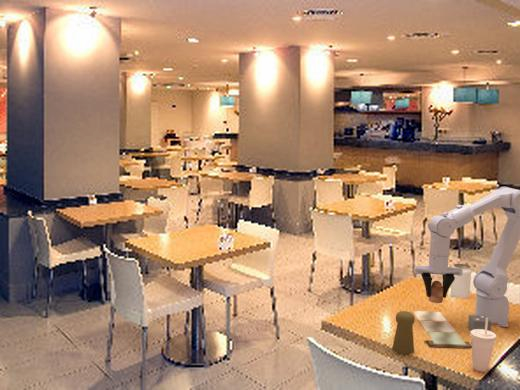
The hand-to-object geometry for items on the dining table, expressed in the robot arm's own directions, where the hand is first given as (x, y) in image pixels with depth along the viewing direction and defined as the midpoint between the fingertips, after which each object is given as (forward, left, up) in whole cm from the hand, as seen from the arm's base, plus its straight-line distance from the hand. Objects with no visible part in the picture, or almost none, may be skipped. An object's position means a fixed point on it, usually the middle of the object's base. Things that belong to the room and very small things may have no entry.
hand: (436, 296), depth 173 cm
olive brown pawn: (+14, +20, -10) cm, 26 cm away
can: (-17, -28, -10) cm, 34 cm away
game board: (0, +4, -9) cm, 10 cm away
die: (-12, +6, -10) cm, 16 cm away
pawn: (0, 0, -1) cm, 1 cm away
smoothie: (-4, +30, -10) cm, 31 cm away
